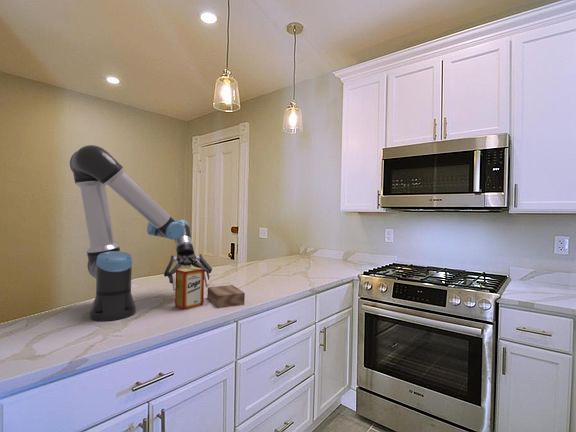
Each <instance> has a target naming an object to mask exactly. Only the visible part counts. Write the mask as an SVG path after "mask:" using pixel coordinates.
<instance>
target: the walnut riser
mask: <svg viewBox="0 0 576 432" xmlns="http://www.w3.org/2000/svg"><path fill="white" fill-rule="evenodd" d="M206 295H207V297H206V298H207V300H208V301H210V302H211V303H212V304H213V305H214V306H215V307H216V308H217V309H219V308H226V307H232V306H233V307H235V306H240V305H245V299H246V298H245V295H246V293H245V292H244V291H243V290H241V289H239V288H238V287H236V286H235V285H233V284H228V285H219V286H208V287H207V294H206Z"/></svg>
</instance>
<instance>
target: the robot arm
mask: <svg viewBox="0 0 576 432" xmlns="http://www.w3.org/2000/svg"><path fill="white" fill-rule="evenodd" d="M69 167H70V170H71V173H73V179H74V184H75V185H76V186H78V187H79V188H80V193H81V199H82V205H83V211H84V217H85V223H86V228H87V234H88V240H89V248H88V249H87V250H86V256H87V270H88V273H89V275H91V277H92V278H95V280H96V281H95V282H96V286H95V287H96V288H95V289H96V290H95V297H94V301H93V303H92V306H91V308H90V311H89V319H91V320H94V321H97V322H98V321H99V322H100V321H101V322H105V321H109V322H110V321H117V320H122V319H126V318H128V317H130V316H133V315H134V314H135V313H136V308H137V307H136V303H135V300H134V298H133V295H132V274H133V273H132V270H133V269H132V268H133V259H132V255H131V254H130V253H128V252H126V251H121V249H120V245H119V244H117V243H116V242H115V238H114V232H113V230H114V229H113V225H112V219H111V212H110V207H109V200H108V194H107V188H106V187H107V186H108V187H110V189H112V190H113V191H114V192H115V193H117V195H118V196H120V197H121V198H122V199H123V200H124V201H125V202H127V204H129V206H131V207H132V208H133V209H134V210H135V211H137V212H138V213H139V214H140V215H141V216H142V217H144V218H145V220H146V221H148V223H147V227H146V232H147V234H148V235H150V236H153V237H160V238H165V239H169V240H172V241H174V244H175V249H176V256H174V255H171V256H170V259H169V262H168V265H167V266H166V269H165V271H164V274H163V276H164V277H168V280H169V281H168V282H169V284H172V291H173V292H175V290H176V270H177V269H180V268H181V267H182V266H184V267H186V266H192V267H198V268H202V269H204V287H205V288H207V289H208V287H209V285H210V281H209V280H210V273H212V271H213V267H211V266H210V264H209V263H208V261H206V259H204V257H203V255H202V254H201V253H200V254H198V255H196V254H195V250H194V246H193V245H194V244H193V240H192V235H191V234H192V233H191V228H190V225H189V223H188V220H186V219H176V220H175V219H174V218H173V217H172V216H170V214H169V213H168V212H166V211H165V210H164V208H163V207H161V205H159V204H158V203H157V202H156V201H155V199H153V198H152V197H151V196H150V195H149V194H148V193H147V192H146V191H144V190H143V188H142V187H140V185H139V184H137V183H136V182H135V181H134V180H133V179H132V178H131V177H130V175H128V174H127V173H126V172H125V171H124V166H123V165H121V164H120V163H119V162H118V160H116V158H114V157H113V155H112V154H110V152H108V151H107V150H106V149H105V148H102V147H100V146H98V145H91V144H89V145H84V146H83V147H80V148H79V149H78V150H76V151H75V152H74V153H73V154H72V155H71V157H70V159H69ZM174 262H177V263H176V264H175V265H174V267H173V268H172V266H173V264H174ZM171 268H172V269H171Z"/></svg>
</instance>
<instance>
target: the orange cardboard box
mask: <svg viewBox="0 0 576 432" xmlns="http://www.w3.org/2000/svg"><path fill="white" fill-rule="evenodd" d="M175 283H176V290H175V291H174V294H175V295H174V307H175V308H178V309H180V310H183V311H185V310H190V309H194V308H196V307H197V306H198V307H202V306H204V288H205V281H204V269H202V268H198V267H195V266H191V267H185V268H179V269H177V270H176V272H175ZM198 307H197V308H198Z"/></svg>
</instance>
